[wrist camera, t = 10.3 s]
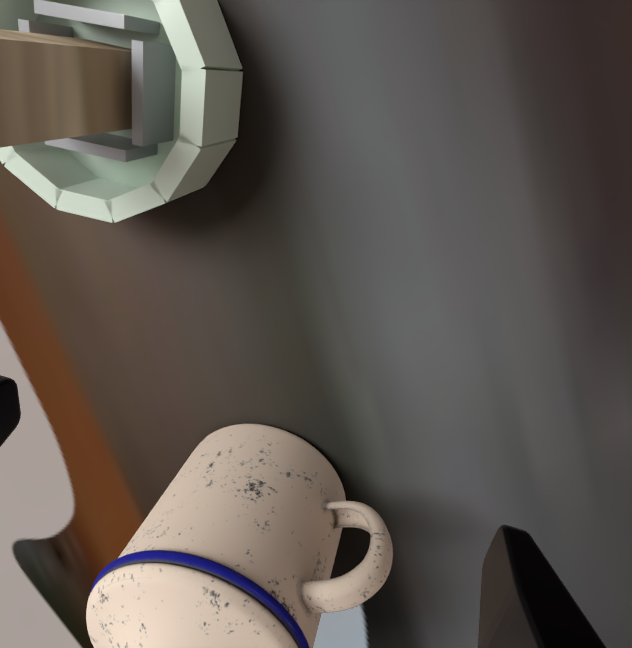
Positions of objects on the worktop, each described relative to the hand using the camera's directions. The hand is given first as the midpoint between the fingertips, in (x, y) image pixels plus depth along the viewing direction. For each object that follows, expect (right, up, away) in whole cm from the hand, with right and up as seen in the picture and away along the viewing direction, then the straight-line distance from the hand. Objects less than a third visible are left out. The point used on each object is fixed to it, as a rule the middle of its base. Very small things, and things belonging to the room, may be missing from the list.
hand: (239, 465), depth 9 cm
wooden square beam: (-6, +11, +10) cm, 16 cm away
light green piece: (-6, +12, +11) cm, 17 cm away
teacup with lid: (0, -6, +18) cm, 19 cm away
